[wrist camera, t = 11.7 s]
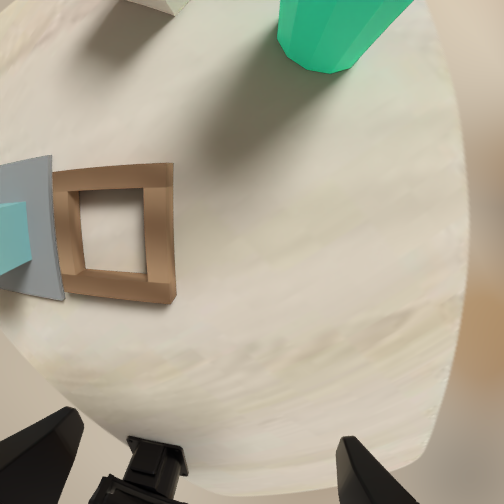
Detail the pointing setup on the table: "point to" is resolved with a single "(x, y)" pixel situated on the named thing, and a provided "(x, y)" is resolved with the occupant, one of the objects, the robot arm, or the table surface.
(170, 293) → the frame
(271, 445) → the table surface
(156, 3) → the white cube
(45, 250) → the mat
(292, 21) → the candle
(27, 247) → the teal rectangular block
